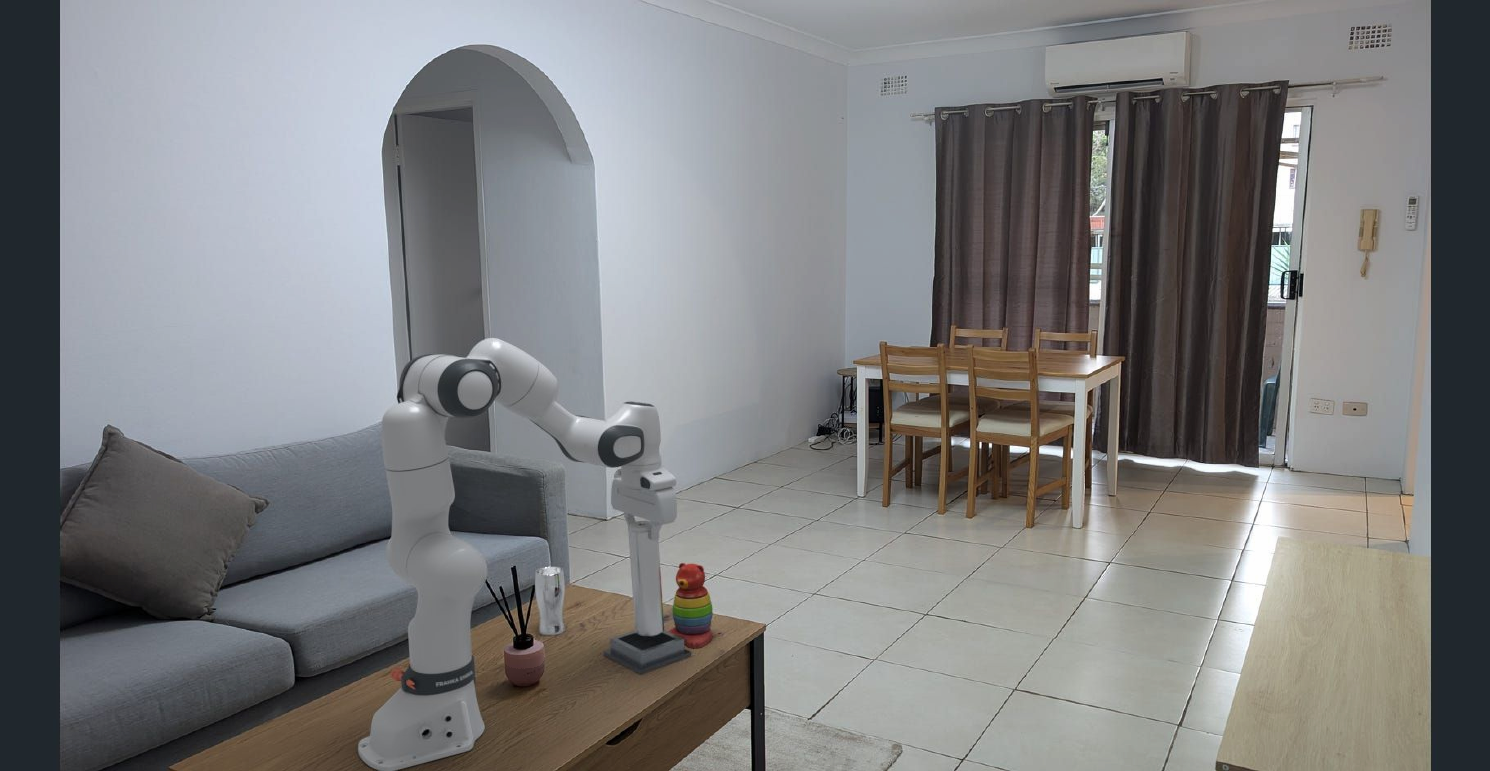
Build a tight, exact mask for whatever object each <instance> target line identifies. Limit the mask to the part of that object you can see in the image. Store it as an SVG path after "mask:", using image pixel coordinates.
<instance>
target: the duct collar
mask: <svg viewBox="0 0 1490 771" xmlns="http://www.w3.org/2000/svg"><path fill="white" fill-rule="evenodd" d="M668 631H669V630H668ZM668 631H667V630H665V629H664V631H663V632H662V633H661V634H659V635H656V636H650V637H644V636H639V635H637V634H636V632H635V630H633V631H629V632H625V633H623V634H620V635H617V636H614V637H611V638H609V645H610V648H609V649H606V650H604V651H603V656H605V657H606V658H608V659H610V660H612V661H614V662H616V663H617V664H619V665H621V666H624V667H625V668H627V669H629V670H631V671H633V672H634V673H636V674H638V675H644V674H646V673H648V672H650V671H654V670H657V669H660V668H663V667H665V666H668V665H670V664H673V663H676V662H680V661H682V660H685V659H687V658H690V657H692V651H690V650H688V649H686V648H685V644H684V639H683V638H681V637H679V636H676V635H674V634H672V633H670V632H668Z"/></svg>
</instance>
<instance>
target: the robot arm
mask: <svg viewBox="0 0 1490 771" xmlns="http://www.w3.org/2000/svg"><path fill="white" fill-rule="evenodd" d="M398 386H399V387H398V391H397V395H396V400H397V402H398V403H397V404H394V405H392V406H391V407H389V409H388V410H386V411H385V413H384V414H383V416H382V418H381V420H382V421H381V447H382V448H381V449H382V457H383V458H382V459H383V465H384V470H385V474H386V475H385V476H386V480H387V485H388V491H389V492H388V493H389V496H390V503H391V511H392V512H391V515H392V517H391V537H390V539H389V540H388V541H387V544H386V546H385V547H386V548H385V560H386V563H387V565H388V566H389V567H390V568H391V570H392V572H394V575H396V576H397V577H398V579H400V580H401V581H403V582H405V583H406V584H409V585H411V586H413V587H414V588H415V589H416V591H417V592H416V593H417V605H416V610H415V615H414V617H413V618H412V619H411V620H410V622H409V623H408V626H407V627H408V628H407V635H408V650H409V664H408V667H407V668H406V670H405V671H404V670H402V669H401V668H400V667H396V668H393V669H392V670H391V672H390V676H391V678H392V679H394V680H395V681H396V682H400V684H401V686H400V687H399V689H398V690H397V691H396V692H395V693H394V694H393V695H392V696H391V697H390V698H389V699H388V700H387V701H386V702H385V703H384V704H383V705H381V707H380V708H379V709H377V711H376V712H375V713H374V714H373V716H372V717H373V718H372V720H371V725H370V734H369V735H368V736H366V737H364V738H362V739H360V740H359V741H358V746H357V753H358V756H359V757H360V759H361V760H362V761H363V763H365V764H366V765H368V766H369V767H370V768H372V769H374V770H377V771H398V770H402V769H407V768H410V767H413V766H418V765H421V764H425V763H428V762H432V761H436V760H440V759H443V758H447V757H450V756H455V755H458V754H463V753H466V752H469V751H471V750H472V749H473V748H474V745H475V742H476V740H478V739H479V738H480V737H481V735H482V734H484V731H485V727H486V726H485V722H484V720H483V718H482V714H481V712H480V708H479V703H478V700H477V694H476V688H475V687H476V686H475V684H476V680H477V679H476V675H477V674H476V673H477V672H476V664H475V663H476V662H475V657H474V655H472V652H473V651H472V635H471V631H472V630H471V621H472V620H471V617H472V610H473V605H474V601H475V597H476V595H477V594H478V593H479V592H480V591H481V590H482V588H483V587H484V585H485V582H486V580H487V577H488V565H487V560H486V559H485V556H484V555H483V554H481V552H480V551H479V550H478V549H477V548H476V547H474V546H473V544H471V543H470V542H469V541H466V540H465V539H461V538H459V537H457V536H454V535H452V533H451V531H450V527H449V515H450V514H449V513H450V507H451V505H453V503H454V501H455V498H456V496H455V495H456V493H455V492H456V491H455V485H454V481H453V475H452V468H451V462H450V457H449V452H448V449H447V448H448V447H447V446H448V445H447V443H446V439H445V438H446V428H447V423H448V421H449V419H450V417H451V418H452V417H454V418H458V419H470V418H475V417H479V415H481V414H483V413H485V412H486V411H487V410H488V409H489V408H490V407H491V406H492V405H493V403H494V401H495V402H497V403H498V404H500V405H501V406H502V407H504V408H505V409H507V410H508V411H509V412H510V411H511V412H512V413H514V414H516V415H517V416H521V417H522V418H524V419H528V420H529V421H530V422H532V423H533V424H534V425H536V426H537V427H539V428H540V429H541V430H542V431H544V432H545V433H547V434H548V435H549V436H550V437H552V438H553V440H554V441H555V442H556V444H557V446H558V447H559V449H560V451H561V453H563V455H564V457H566V459H568V460H570V461H572V462H576V463H583V464H584V463H585V464H586V463H587V464H591V465H595V466H599V467H605V468H610V469H611V468H612V469H613V468H618V469H617V470H616V471H615V473H614V474H613V480H612V481H611V482H612V483H611V488H610V489H611V493H610V495H611V496H610V504H611V507H612V509H613V510H615V511H619V512H622V513H623V517H624V519H625V522H626V524H627V530H628V529H629V525H630V524H631V523H633V522H637V521H636V518H635V517H638V518H641V519H643V520H645V521H651V525H652V529H651V531H650V532H649V539H651V540H653V541H655V540H659V539H660V531H661V529H662V527H663V526H664V525H667V524H668V525H669V524H672V523H674V522H675V521H676V519H677V515H678V511H677V510H678V502H677V500H678V499H677V492H676V490H675V488H674V487H675V486H676V485H677V478H676V477H675V475H674V474H672V473H671V472H670V471H669V470H668V469H666V467H664V466H663V465H662V457H661V454H660V446H661V442H662V441H661V440H662V437H661V435H662V434H661V422H660V417H659V412H658V410H657V407H656V406H655V405H653V404H651V403H646V402H640V401H639V402H638V401H625V402H623V403H622V404H621V407H620V408H619V409H618V410H617V411H616V413H614V414H612V415H611V416H610V417H609V418H606V419H605V420H602V419H597V418H592V417H589V416H585V415H577V414H572V413H571V412H570V411H568V410H567V409H566V408H564V407H563V406H562V405H561V404H560V403H558V402H557V401H556V400H557V398H558V394H559V381H558V379H557V377H556V376H555V375H554V374H553V373H552V372H551V370H549V368H547V367H546V366H545V365H544V364H543V363H541V361H539V360H538V359H536V358H535V357H534V356H532V355H530V354H529V353H527V352H526V351H525V350H523V349H520V348H519V347H517V346H515V345H513V344H511V343H509V342H507V341H505V340H502V339H500V338H497V337H496V338H495V337H489V338H484V339H481V340H480V341H479V342H478V343H477V344H475V345H474V346H473V347H472V349H471V350H470V351H469V353H468V355H467V356H466V357H462V356H461V357H459V356H456V355H453V354H435V353H426V354H422V355H419V356H415V357H414V358H412V359H411V360H409V361H408V362H407V363H406V365H405V366H404V367H403V369H402V371H401V373H400V377H399V385H398ZM619 467H620V468H619Z"/></svg>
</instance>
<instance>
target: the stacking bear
mask: <svg viewBox="0 0 1490 771" xmlns="http://www.w3.org/2000/svg"><path fill="white" fill-rule="evenodd" d="M676 572H677V573H676V574H675V583H676V585H677V587H678V588H677V589H676V591H675V594H674V597H673V603H672V609H671V610H672V618H673V622H674V626H675V627H672V628H671V629H669V630H668V632H670V633H672V634H674V635H676V636H679V637H681V638H683V639H684V646H687V647H688V648H691V649H699V648H702V647H704V646H706V645H708V644H709V643H710V642H711V641H712V638H713V631H712V629H711V626H712V619H713V605H712V604H713V603H712V601H711V596H710V593H709V591H708V589H707V588H706V587H705V586H704V585H705V581H706V573H705V568H704V566H702V565H700V564H696V563H684V562H681V563H680V564H679V565H678V570H677V571H676Z"/></svg>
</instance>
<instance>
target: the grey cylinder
mask: <svg viewBox="0 0 1490 771" xmlns="http://www.w3.org/2000/svg"><path fill="white" fill-rule="evenodd" d="M651 529H652V525H651V521H650V520H637V521H636V522H633V523H631V524H630V525H629V529H628V528H627V534H628V546H629V547H628V548H629V561H630V575H631V590H632V604H633V618H634V619H633V620H634V631H635V632H636V634H637V635H639V636H644V637H650V636H656V635H659V634H661V633H662V632H663V631H664V630H665V620H664V604H663V590H662V573H661V560H660V559H661V558H660V557H661V556H660V544H659V541H660V540H659V539H658V540H655V541H653V540H651V539H649V532H650V531H651Z"/></svg>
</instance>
